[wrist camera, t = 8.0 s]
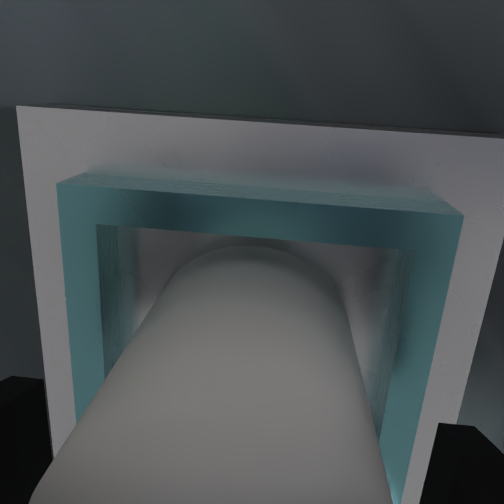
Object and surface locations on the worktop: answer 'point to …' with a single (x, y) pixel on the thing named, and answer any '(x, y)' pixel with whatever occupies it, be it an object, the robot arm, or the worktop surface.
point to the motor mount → (267, 244)
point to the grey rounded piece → (229, 397)
